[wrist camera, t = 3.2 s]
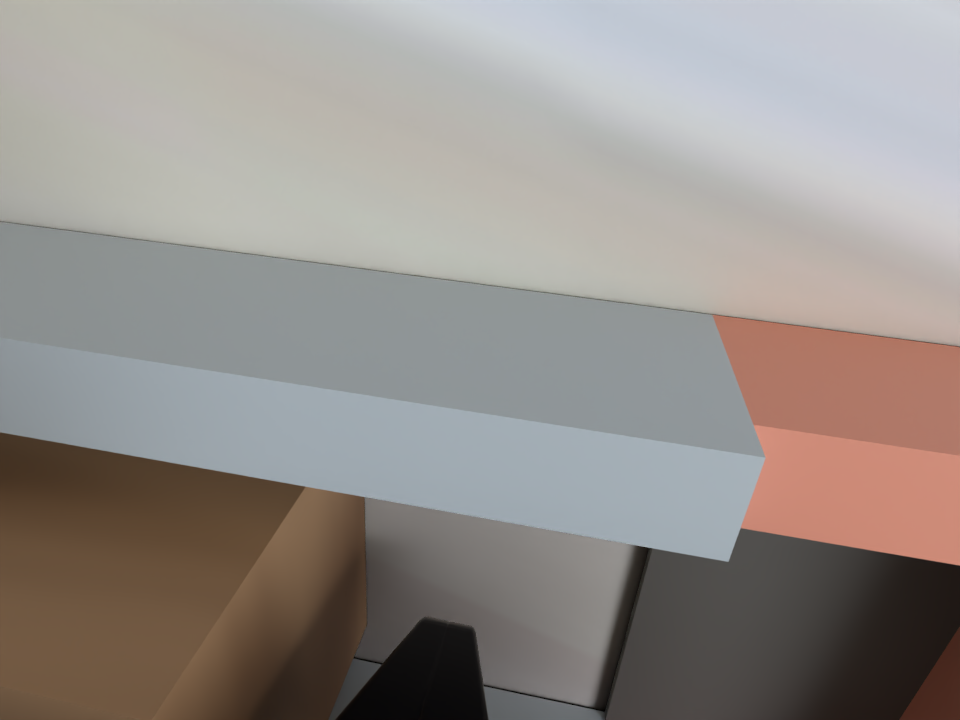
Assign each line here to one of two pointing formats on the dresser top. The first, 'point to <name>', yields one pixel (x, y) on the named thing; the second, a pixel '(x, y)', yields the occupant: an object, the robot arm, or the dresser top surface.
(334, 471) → the channel
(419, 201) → the dresser top surface
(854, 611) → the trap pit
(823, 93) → the dresser top surface
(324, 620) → the walnut block
